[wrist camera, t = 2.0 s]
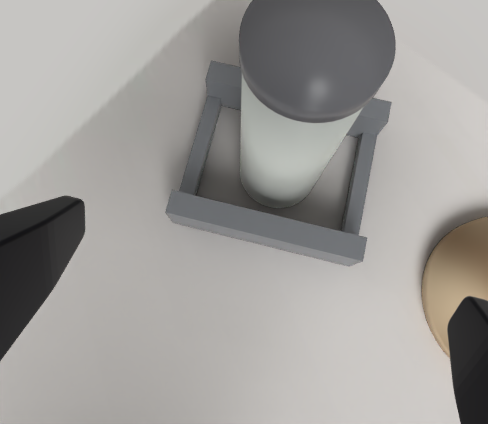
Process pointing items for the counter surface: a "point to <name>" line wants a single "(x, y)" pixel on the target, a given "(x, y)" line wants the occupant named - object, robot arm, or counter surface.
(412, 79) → the counter surface
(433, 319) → the coaster
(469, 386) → the robot arm
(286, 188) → the white jar with lid
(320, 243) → the socket frame
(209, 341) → the counter surface
